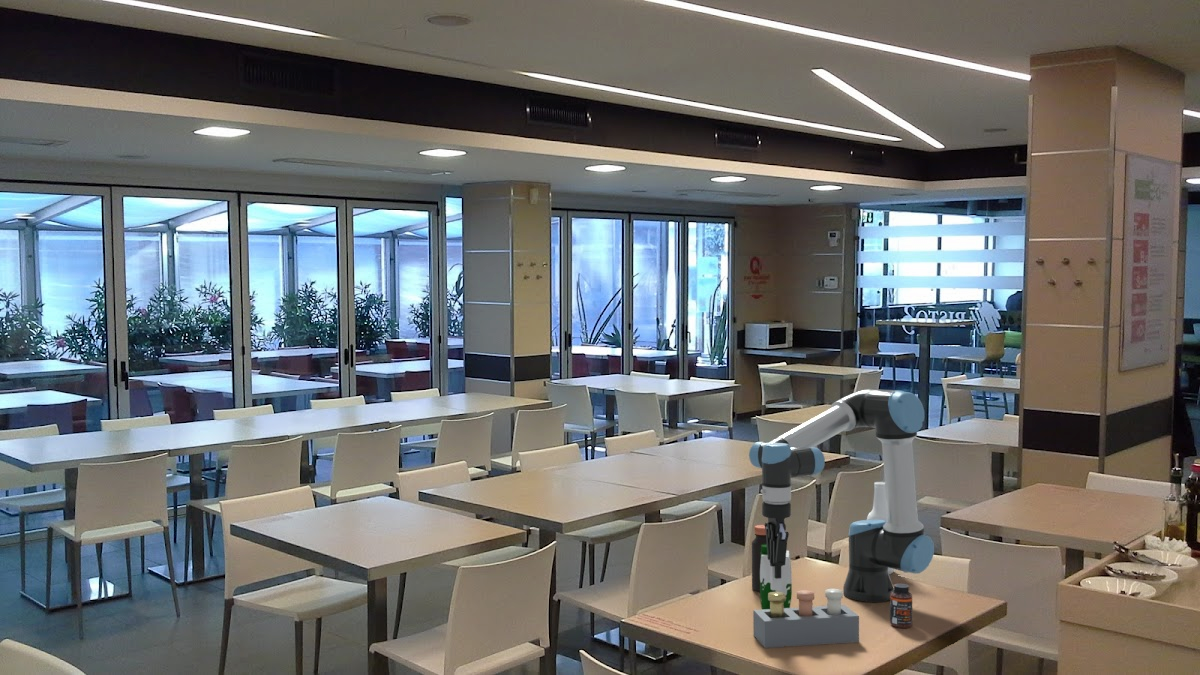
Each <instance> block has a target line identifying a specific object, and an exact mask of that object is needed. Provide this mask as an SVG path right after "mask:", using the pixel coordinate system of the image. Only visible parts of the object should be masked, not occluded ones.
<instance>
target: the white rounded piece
mask: <svg viewBox="0 0 1200 675" xmlns="http://www.w3.org/2000/svg"><path fill="white" fill-rule="evenodd" d="M824 591H825V592H824V597H825V598H826V606H827V615H836V614H841V605H842V599H843V597H844V596H843V595H844V594H843V589H838V588H828V589H825V590H824Z"/></svg>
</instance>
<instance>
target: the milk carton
mask: <svg viewBox="0 0 1200 675" xmlns="http://www.w3.org/2000/svg"><path fill="white" fill-rule="evenodd" d="M760 555H761V564H760V592H759V594H760V597H759V598H760V605H761V606H760V607H761V610H763V609H770V601H769V600H768V593H770V592H782V593H785V594H786V601H784V608H791V603H792V595H793V594H792V593H793V590H792V588H793V586H792V585H793V584H792V583H793V582H792V580H793V579H792V578H793V577H792V576H793V575H792V574H793V573H792V562H791V555H790V550H786V561H785V565H783V566H782V590H771V566H770V560H768V555H767V544H763V545H761V554H760Z"/></svg>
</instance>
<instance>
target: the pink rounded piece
mask: <svg viewBox="0 0 1200 675" xmlns="http://www.w3.org/2000/svg"><path fill="white" fill-rule="evenodd" d="M796 599H797V600H798V607H799V617H802V616H812V607H813V601H814V600H815V592H814V591H812V590H807V589H802V590H798V591H796Z"/></svg>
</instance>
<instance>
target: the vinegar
mask: <svg viewBox="0 0 1200 675" xmlns="http://www.w3.org/2000/svg"><path fill="white" fill-rule="evenodd" d="M754 535H755V538H754V539H753V540H752V541H751V588H752V591H755V592H759V593H760V564H761V555H760V554H761V545H763V544H767V541H766V530H765V524H758V525H755V526H754Z"/></svg>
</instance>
